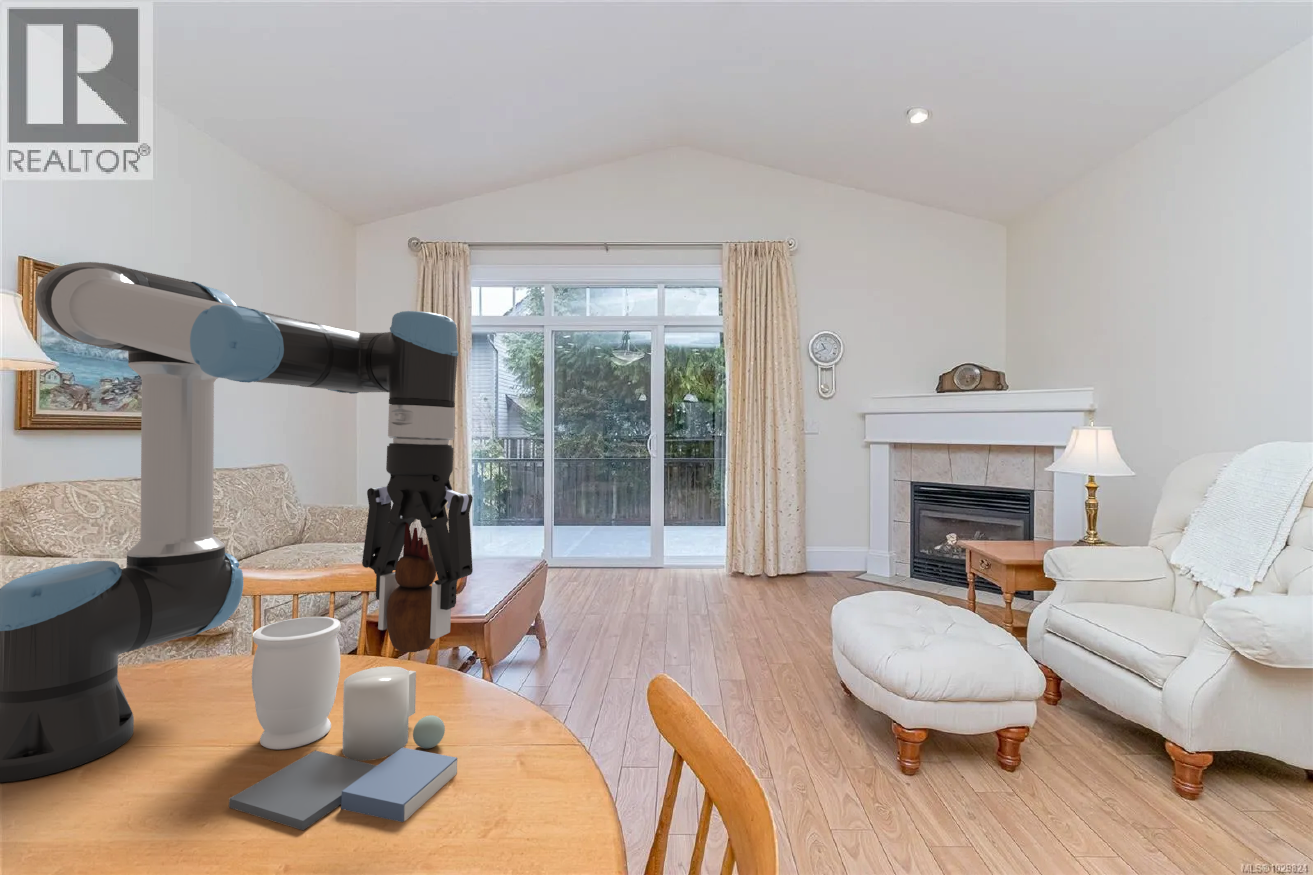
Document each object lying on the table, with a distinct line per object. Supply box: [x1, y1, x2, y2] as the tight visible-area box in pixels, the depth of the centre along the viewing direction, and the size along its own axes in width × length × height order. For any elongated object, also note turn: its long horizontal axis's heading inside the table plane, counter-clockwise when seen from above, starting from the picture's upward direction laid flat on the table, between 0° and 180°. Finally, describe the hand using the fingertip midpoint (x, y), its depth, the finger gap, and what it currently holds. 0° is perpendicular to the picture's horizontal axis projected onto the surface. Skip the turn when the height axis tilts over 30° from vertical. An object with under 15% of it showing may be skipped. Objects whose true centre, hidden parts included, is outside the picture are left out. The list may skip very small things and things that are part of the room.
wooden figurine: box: [387, 523, 437, 653], centre depth 72 cm, size 7×6×15 cm
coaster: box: [228, 749, 378, 831], centre depth 70 cm, size 11×11×1 cm
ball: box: [412, 715, 446, 750], centre depth 80 cm, size 4×4×4 cm
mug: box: [342, 665, 417, 762], centre depth 82 cm, size 8×11×9 cm
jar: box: [251, 616, 342, 750], centre depth 82 cm, size 11×10×15 cm
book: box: [340, 747, 458, 823], centre depth 70 cm, size 8×10×2 cm
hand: (414, 630), depth 72 cm, fingers closed on wooden figurine, 7 cm apart
